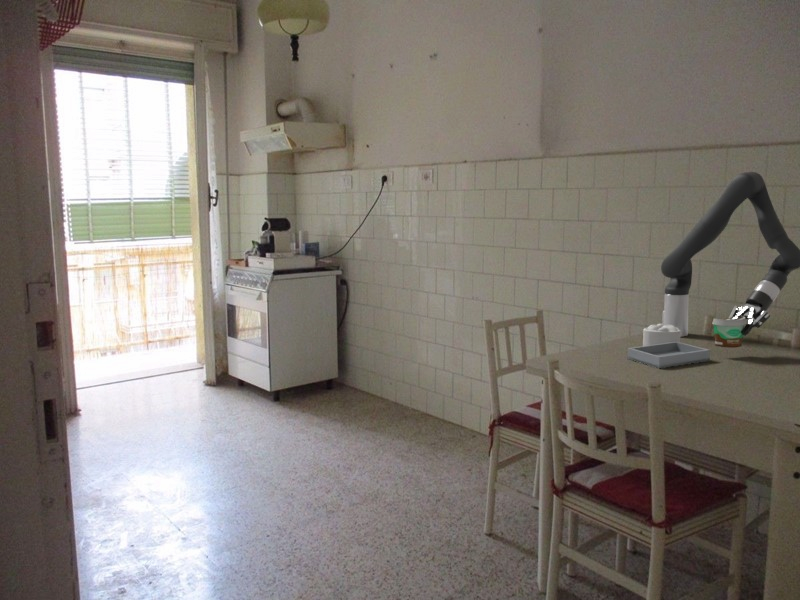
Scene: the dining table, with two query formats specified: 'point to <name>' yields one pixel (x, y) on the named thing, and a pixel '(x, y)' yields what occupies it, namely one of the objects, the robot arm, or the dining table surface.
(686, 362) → the grey tray
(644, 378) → the dining table surface
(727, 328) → the food container
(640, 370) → the dining table surface
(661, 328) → the lumpy-topped squat cylinder
